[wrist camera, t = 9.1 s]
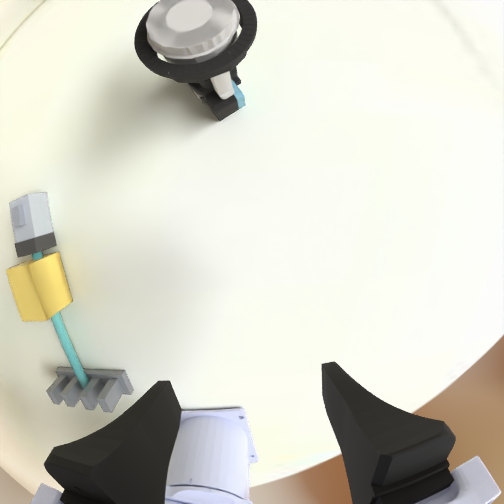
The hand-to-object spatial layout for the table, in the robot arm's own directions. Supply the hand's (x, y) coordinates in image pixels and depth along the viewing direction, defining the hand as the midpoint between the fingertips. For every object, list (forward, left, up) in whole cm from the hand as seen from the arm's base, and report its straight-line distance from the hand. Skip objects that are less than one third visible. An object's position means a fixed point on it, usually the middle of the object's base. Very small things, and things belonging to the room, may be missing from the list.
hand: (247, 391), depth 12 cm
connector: (+10, +17, -9) cm, 22 cm away
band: (+8, +17, -9) cm, 21 cm away
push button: (+17, 0, -10) cm, 20 cm away
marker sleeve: (+5, +17, -9) cm, 20 cm away
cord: (+2, +17, -9) cm, 20 cm away
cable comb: (-6, +17, -9) cm, 20 cm away
